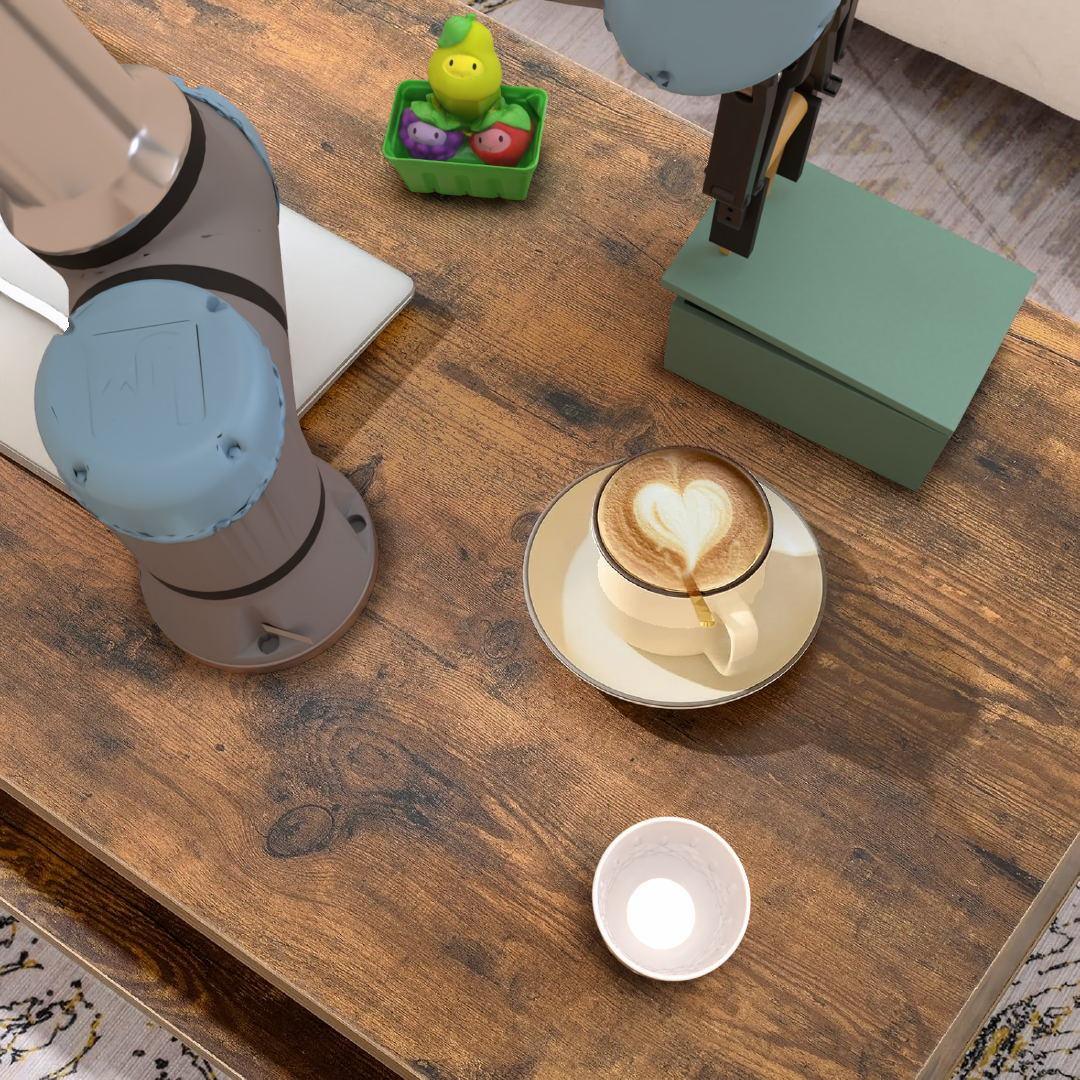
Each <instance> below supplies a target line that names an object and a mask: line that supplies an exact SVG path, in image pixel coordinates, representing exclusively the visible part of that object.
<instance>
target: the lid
mask: <svg viewBox="0 0 1080 1080" xmlns="http://www.w3.org/2000/svg"><path fill="white" fill-rule="evenodd" d="M807 109H808V105H807V102H806V100H805V98H804V97H803V96H802V95H800V94H799V93H797V92H794V91H793V94H792V97H791V100H790V103H789V106H788V109H787V112H786V115H785V118H784V121H783V124H782V127H781V130H780V133H779V136H778V139H777V142H776V145H775V148H774V151H773V154H772V157H771V160H770V163H769V166H768V169H767V172H766V175H765V177H768V178H770V182H769V186H768V190H767V195H766V199H765V203H764V207H763V211H762V215H761V220H760V224H759V228H758V232H757V236H756V240H755V245H754V249H753V251H752V253H751V254H750V256H749V258H748V259H747V258H744V257H742V256H740V255H738V254H736V253H734V252H731V251H729V250H727V249H725V248H723V247H721V246H719V245H716V244H714V243H712V242H710V241H709V236H710V230H711V224H712V219H713V213H714V208H715V202H716V199H714V198H713V201H712V202H711V203H710V205H709V206H708V208H707V209H706V210H705V213H704V214H703V215H702V217H701V218H700V220H699V221H698V223H697V224H696V226H695V227H694V229H693V230H692V232H690V234H689V236H688V238H687V239H686V240H685V242H684V243H683V245H682V246H681V248H680V249H679V251H678V252H677V253H676V255H675V256H674V258H673V260H672V261H671V262H670V264H669V266H668V267H667V268H666V270H665V271H664V273H663V274H662V276H661V277H660V281H659V286H661V287H662V288H664V289H666V290H668V291H670V292H672V293H673V294H675V295H677V296H678V295H679V296H681V297H683V298H685V299H687V300H689V301H691V302H693V303H695V304H696V305H698V306H700V307H702V308H704V309H706V310H708V311H710V312H712V313H714V314H716V315H717V316H719V317H721V318H723V319H725V320H727V321H729V322H731V323H733V324H735V325H737V326H738V327H740V328H742V329H744V330H746V331H748V332H750V333H752V334H754V335H756V336H758V337H759V338H761V339H763V340H765V341H767V342H769V343H771V344H773V345H775V346H777V347H779V348H780V349H782V350H784V351H786V352H788V353H790V354H792V355H794V356H796V357H798V358H800V359H801V360H803V361H805V362H807V363H809V364H811V365H813V366H815V367H817V368H819V369H821V370H822V371H824V372H826V373H828V374H830V375H832V376H834V377H836V378H838V379H840V380H842V381H843V382H845V383H847V384H849V385H851V386H853V387H855V388H857V389H859V390H861V391H863V392H864V393H866V394H868V395H870V396H872V397H874V398H876V399H878V400H880V401H882V402H884V403H885V404H887V405H889V406H891V407H893V408H895V409H897V410H899V411H901V412H903V413H905V414H906V415H908V416H910V417H912V418H914V419H916V420H918V421H920V422H922V423H924V424H926V425H927V426H929V427H931V428H933V429H935V430H937V431H939V432H941V433H943V434H945V435H947V436H948V437H950V436H951V437H952V435H953V434H954V433H955V431H956V429H957V428H958V425H959V424H960V422H961V420H962V418H963V416H964V414H965V413H966V410H967V409H968V407H969V405H970V403H971V401H972V400H973V398H974V396H975V394H976V392H977V389H978V388H979V386H980V384H981V382H982V381H983V379H984V377H985V375H986V374H987V371H988V370H989V368H990V365H991V364H992V362H993V360H994V358H995V357H996V354H997V353H998V350H999V348H1000V347H1001V345H1002V343H1003V341H1004V339H1005V337H1006V335H1007V333H1008V332H1009V330H1010V328H1011V326H1012V324H1013V322H1014V320H1015V318H1016V317H1017V315H1018V313H1019V311H1020V309H1021V307H1022V305H1023V303H1024V301H1025V299H1026V298H1027V295H1028V294H1029V292H1030V290H1031V288H1032V286H1033V284H1034V283H1035V280H1036V279H1037V277H1038V273H1036V272H1034V271H1032V270H1030V269H1028V268H1026V267H1024V266H1022V265H1020V264H1018V263H1016V262H1014V261H1012V260H1009V259H1007V258H1005V257H1003V256H1001V255H999V254H997V253H995V252H993V251H991V250H989V249H987V248H985V247H983V246H981V245H979V244H977V243H975V242H973V241H971V240H969V239H967V238H964V237H963V236H960V235H959V234H957V233H955V232H953V231H950V230H949V229H946V228H944V227H942V226H940V225H938V224H936V223H934V222H933V221H930V220H928V219H926V218H924V217H922V216H920V215H918V214H916V213H914V212H912V211H910V210H907V209H906V208H903V207H901V206H899V205H898V204H895V203H894V202H891V201H889V200H888V199H886V198H883V197H882V196H879V195H877V194H876V193H874V192H871V191H870V190H867V189H866V188H863V187H862V186H860V185H857V184H855V183H853V182H851V181H849V180H848V179H844V178H843V177H842V176H838V175H837V174H835V173H832V172H830V171H828V170H826V169H824V168H822V167H821V166H818V165H816V164H815V163H812V162H810V161H808V160H807V159H806V160H805V164H804V168H803V171H802V175H801V176H800V178H799V179H798V181H797V183H796V182H793V181H791V180H789V179H787V178H784V177H782V176H780V175H777V174H776V172H777V169H778V166H779V163H780V160H781V157H782V154H783V151H784V147H785V144H786V142H787V141H788V139H789V138H790V136H791V134H792V133H793V131H794V130H795V128H796V127H797V125H798V124H799V122H800V121H801V119H802V118H803V116H804V115H805V113H806V112H807ZM951 437H950V438H951Z"/></svg>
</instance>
